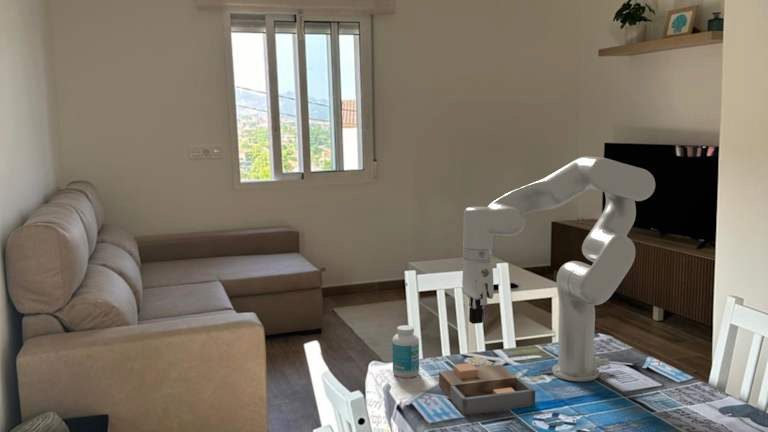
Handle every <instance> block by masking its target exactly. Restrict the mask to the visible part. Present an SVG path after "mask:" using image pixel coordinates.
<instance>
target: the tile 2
mask: <svg viewBox="0 0 768 432" xmlns="http://www.w3.org/2000/svg"><path fill="white" fill-rule="evenodd" d="M514 391H515V390H513V389H512V388H502V389H494V390H493V394H499V393H507V392H514Z"/></svg>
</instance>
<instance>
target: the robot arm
mask: <svg viewBox="0 0 768 432" xmlns="http://www.w3.org/2000/svg"><path fill="white" fill-rule="evenodd" d="M655 189H656V181H655V177H654V175H653V174H652V173H651V172H650V171H648V170H647V169H644V168H642V167H637V166H635V165H630V164H628V163H624V162H623V163H622V162H620V161H617V160H613V159H610V158H606V157H600V156H591V155H590V156H588V155H586V156H581V157H578V158H576V159H574V160H573V161H571V162H569V163H568V164H566V165H564V166H563V167H561V168H559V169H557V170H556V171H554V172H553V173H551V174H549V175H547V176H545V177H543V178H542V179H539V180H537V181H534V182H531V183H529V184H526V185H524V186H522V187H519V188H516V189H514V190H512V191H509V192H508V193H505V194H504V195H502V196H500V197H499V198H497V199H496V200H494V201H492V202H491V203H489V204H488V205H487V206H469V207H466V208H465V209H464V211H463V226H462V227H463V229H462V230H463V231H462V233H463V235H462V237H463V238H462V239H463V240H462V260H463V269H462V283H461V284H462V291H463V292H464V293H465V296H466V297H467V299H468V307H469V311H468V313H469V315H468V322H469V323H471V324H473V325H475V324H482V323H483V322H484V320H483V319H484V308H485V306H487V305H488V299H489V300H490V299H491V300H493V298H494V296H495V295H494V287H495V286H494V269H493V264H492V260H493V235H494V236H495V235H497V236H504V237H505V236H508V237H511V236H512V237H513V236H516V235H518V234H520V233H521V232H522V231H523V230H524V228H525V226H526V217H525V215H526V214H530V213H532V212H536V211H546V210H551V209H557V208H560V207H561V206H563V205H565V204H566V203H568V202H569V201H571V200H573V199H574V198H576V197H577V196H579V195H581V194H583V193H584V192H586V191H588V190H595V191H601V192H604V195H605V205H604V209H603V212H602V213H601V215H600V216H599V218H598V219H597V221H596V222H595V224H594V226H593V227H592V229H590V232H589V233H588V234H587V236H586V237H585V238H584V239H583V243H582V245H581V252H582V254H583V256H584V257H585V258H586V259H587V260H588V261H590V262H592V265H591V264H588V263H585V262H582V261H578V260H571V261H568V262H565V263H564V264H562V265H561V266H560V268H559V269H558V271H557V275H556V289H557V296H558V308H559V309H558V345H557V346H558V348H557V350H558V353H557V357H558V358H557V363H556V364H554V365H552V368H551V369H552V372H551V373H552V374H553V375H554V376H555V377H557V378H560V379H561V380H562V379H563V380H565V381H571V382H579V383H580V382H582V383H583V382H591V381H594V380H596V379H598V378H599V376H600V370H599V369H598V368H600V367H601V366H602V367H604V366H606V367H607V366H610V363H611V362H610V359H609V358H608V357H606V358H600V356H595V329H596V328H595V326H596V324H595V321H596V308H595V306H599V305H601V304H604V303H605V302H607V301H608V300H609V299H610V298H611V297H612V295H613V294H614V293H615V292H616V291H617V288H618V287H619V285H620V284H621V282H622V281H623V279H624V278H625V277H626V275H627V274H628V272H629V271H630V269H631V267H632V266H633V264H634V261H635V258H636V247H635V243H634V242H633V240H632V239H631V238H629V237H628V234H629V232H630V231H631V229H632V227H633V226H634V223H635V221H636V216H637V209H636V202H642V201H645V200H647V199H648V198H650V197H651V196H652V195H653V194H654V193H655ZM635 201H636V202H635ZM594 356H595V357H594Z"/></svg>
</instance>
